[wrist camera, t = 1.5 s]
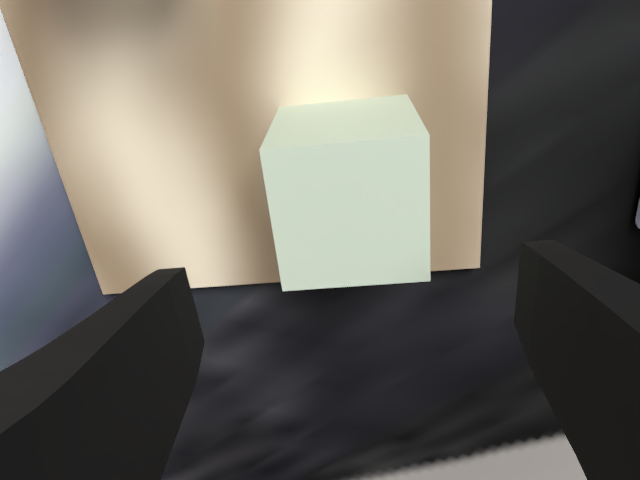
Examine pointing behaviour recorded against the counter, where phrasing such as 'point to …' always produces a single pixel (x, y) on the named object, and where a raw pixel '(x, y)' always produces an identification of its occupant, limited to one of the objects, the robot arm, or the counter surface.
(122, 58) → the build board
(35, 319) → the counter surface
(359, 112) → the sage block
